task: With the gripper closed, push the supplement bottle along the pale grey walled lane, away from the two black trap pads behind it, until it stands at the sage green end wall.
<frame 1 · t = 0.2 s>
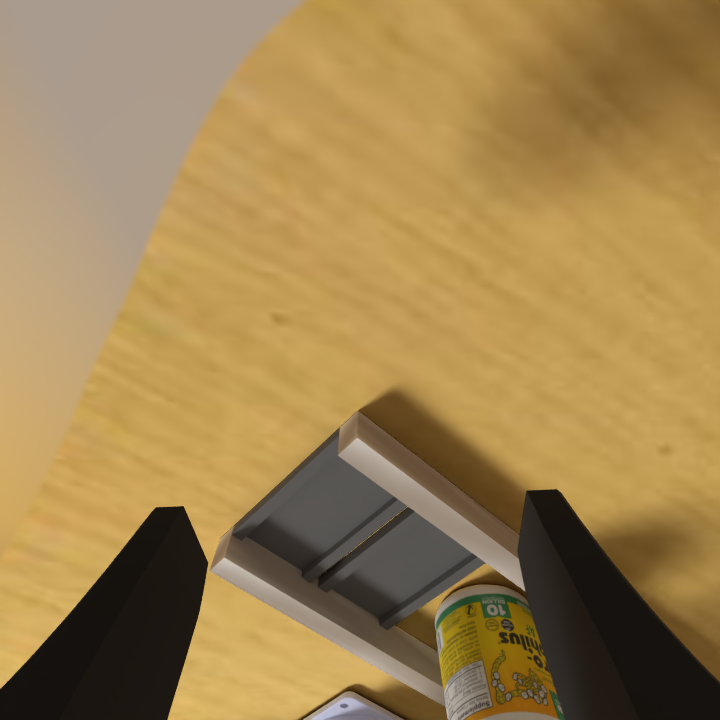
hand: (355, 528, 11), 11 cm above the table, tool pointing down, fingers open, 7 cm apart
supplement bottle: (481, 610, 28), resting in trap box
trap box: (494, 622, 28), on the table
trap pits: (366, 539, 25), resting in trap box
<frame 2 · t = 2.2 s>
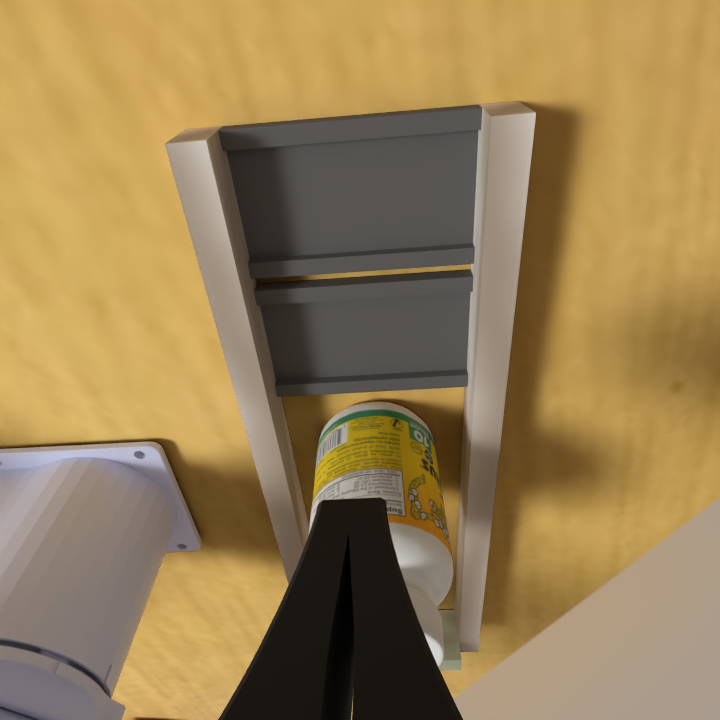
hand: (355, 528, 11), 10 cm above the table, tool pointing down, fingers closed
supplement bottle: (376, 438, 24), resting in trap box
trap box: (377, 457, 24), on the table
trap pits: (361, 274, 19), resting in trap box
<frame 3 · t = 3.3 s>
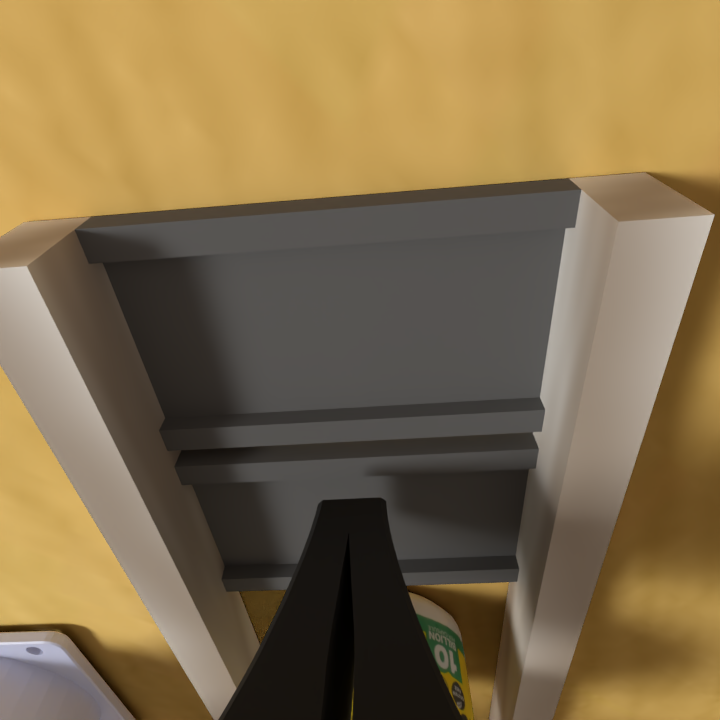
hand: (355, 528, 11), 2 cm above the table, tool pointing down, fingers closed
supplement bottle: (377, 623, 17), resting in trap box
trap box: (379, 645, 17), on the table
trap pits: (351, 440, 11), resting in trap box
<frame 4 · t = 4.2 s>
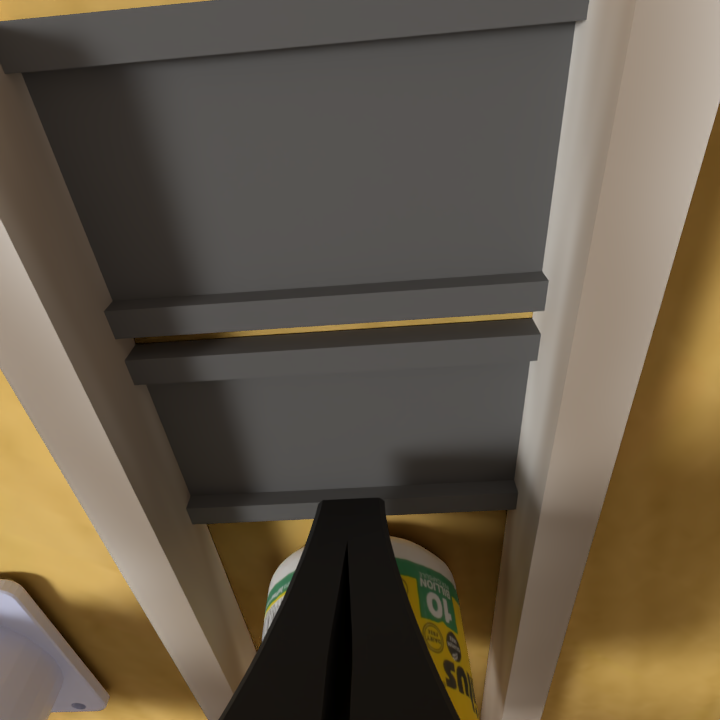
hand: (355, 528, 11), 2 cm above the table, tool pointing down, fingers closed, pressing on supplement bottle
supplement bottle: (362, 573, 15), resting in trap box, touching gripper
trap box: (365, 595, 16), on the table
trap pits: (327, 328, 10), resting in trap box
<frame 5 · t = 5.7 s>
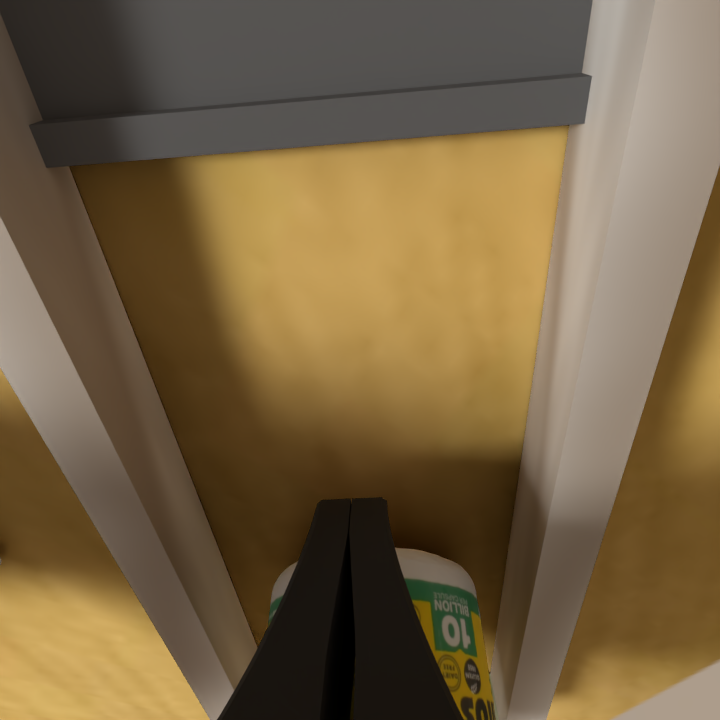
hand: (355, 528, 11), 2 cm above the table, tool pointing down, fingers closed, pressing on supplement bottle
supplement bottle: (373, 571, 14), resting in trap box, touching gripper
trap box: (340, 369, 11), on the table
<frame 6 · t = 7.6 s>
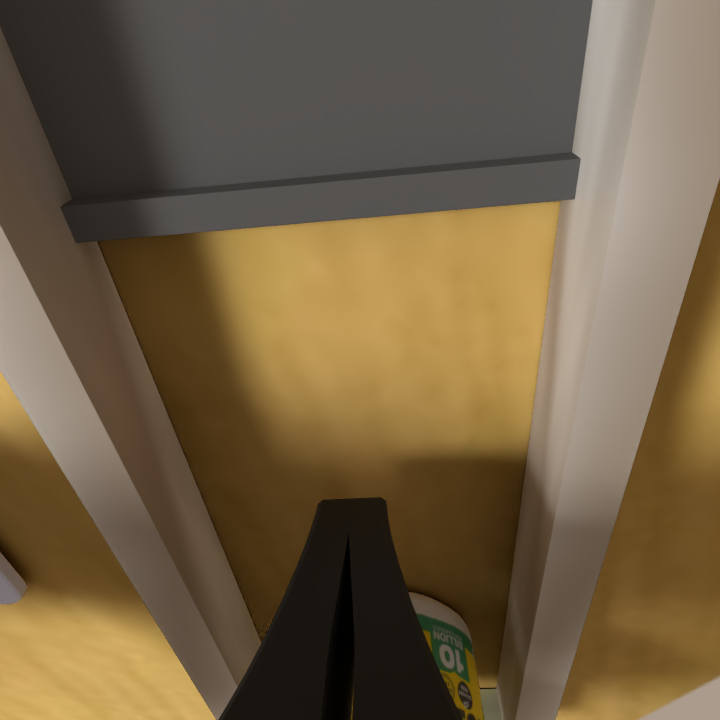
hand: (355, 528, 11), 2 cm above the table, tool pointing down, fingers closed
supplement bottle: (386, 624, 17), resting in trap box
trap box: (348, 411, 11), on the table
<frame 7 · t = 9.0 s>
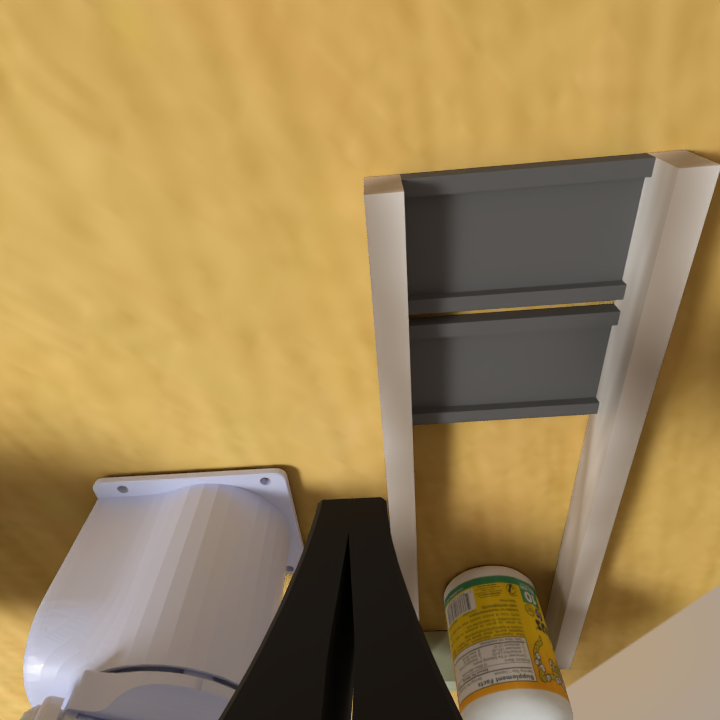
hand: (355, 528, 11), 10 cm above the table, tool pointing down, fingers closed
supplement bottle: (487, 586, 30), resting in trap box
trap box: (493, 481, 25), on the table
trap pits: (511, 309, 19), resting in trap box
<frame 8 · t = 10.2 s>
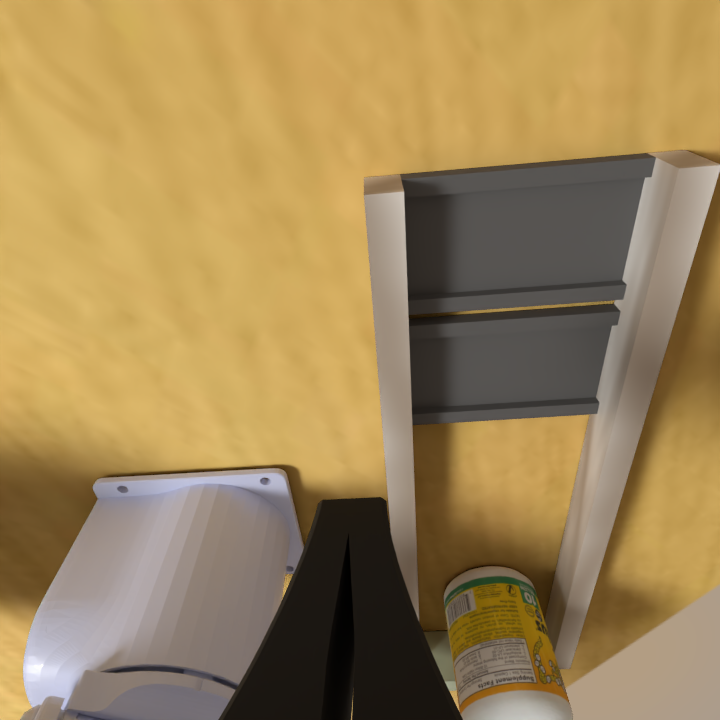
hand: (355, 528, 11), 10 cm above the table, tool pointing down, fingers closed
supplement bottle: (487, 586, 30), resting in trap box
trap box: (493, 481, 25), on the table
trap pits: (511, 309, 19), resting in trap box
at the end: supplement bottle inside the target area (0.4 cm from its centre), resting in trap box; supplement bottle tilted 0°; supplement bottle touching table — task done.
